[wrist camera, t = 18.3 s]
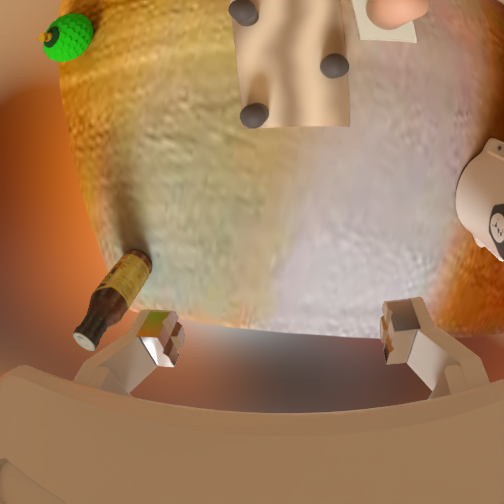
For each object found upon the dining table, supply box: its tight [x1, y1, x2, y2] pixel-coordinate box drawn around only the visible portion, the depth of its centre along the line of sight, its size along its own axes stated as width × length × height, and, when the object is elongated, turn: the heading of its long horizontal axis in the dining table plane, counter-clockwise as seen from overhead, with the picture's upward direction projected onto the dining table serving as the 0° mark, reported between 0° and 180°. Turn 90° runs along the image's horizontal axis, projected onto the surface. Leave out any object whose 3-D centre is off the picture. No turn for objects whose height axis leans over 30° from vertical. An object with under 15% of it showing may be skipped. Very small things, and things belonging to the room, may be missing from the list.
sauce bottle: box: [73, 250, 152, 351], centre depth 43 cm, size 6×6×20 cm
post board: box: [229, 0, 350, 129], centre depth 27 cm, size 14×24×5 cm, turn 6°
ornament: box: [38, 13, 93, 62], centre depth 26 cm, size 8×8×10 cm
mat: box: [351, 0, 417, 43], centre depth 24 cm, size 8×8×1 cm
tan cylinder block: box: [366, 0, 429, 30], centre depth 20 cm, size 5×5×9 cm
